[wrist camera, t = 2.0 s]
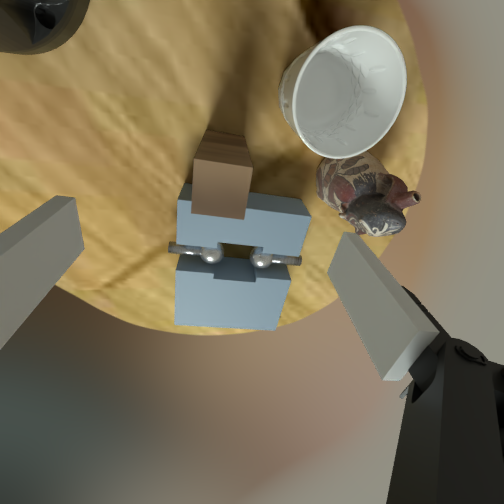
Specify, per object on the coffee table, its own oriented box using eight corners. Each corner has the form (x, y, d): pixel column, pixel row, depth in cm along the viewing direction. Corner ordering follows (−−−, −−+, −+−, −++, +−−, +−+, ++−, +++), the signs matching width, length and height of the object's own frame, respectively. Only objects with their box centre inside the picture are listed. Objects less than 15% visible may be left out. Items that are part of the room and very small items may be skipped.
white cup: (256, 107, 27) (270, 120, 19) (304, 21, 24) (347, -10, 15) (315, 149, 30) (350, 177, 21) (366, 78, 26) (431, 78, 18)
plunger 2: (251, 238, 33) (252, 251, 31) (300, 244, 34) (306, 257, 32) (247, 258, 35) (248, 272, 33) (294, 263, 36) (299, 276, 34)
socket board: (184, 182, 30) (177, 199, 26) (300, 199, 33) (311, 216, 28) (180, 299, 40) (174, 324, 36) (270, 305, 42) (275, 330, 38)
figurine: (301, 186, 32) (335, 235, 22) (343, 132, 29) (405, 161, 19) (343, 215, 34) (391, 271, 24) (385, 168, 31) (459, 210, 21)
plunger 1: (171, 230, 32) (166, 242, 29) (225, 236, 33) (225, 249, 30) (171, 250, 34) (166, 264, 31) (222, 256, 35) (222, 269, 32)
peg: (206, 129, 28) (193, 158, 18) (244, 136, 28) (253, 167, 18) (203, 168, 30) (191, 213, 20) (238, 173, 30) (244, 219, 20)
